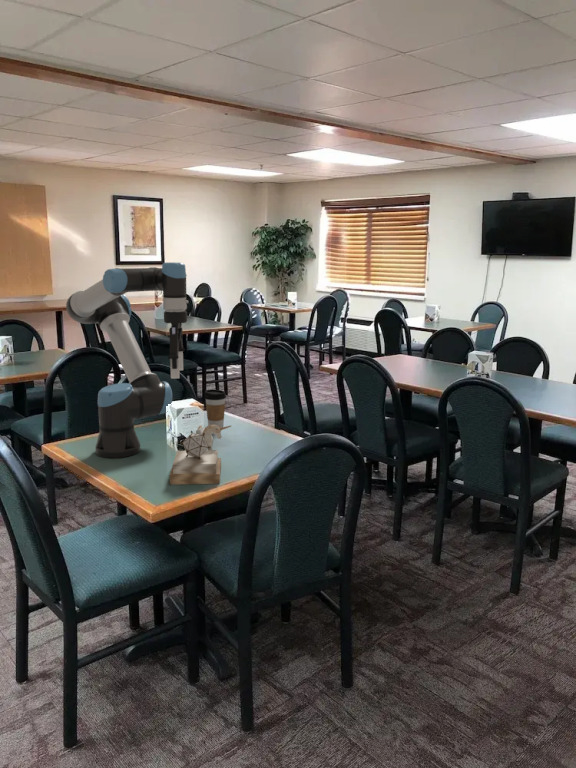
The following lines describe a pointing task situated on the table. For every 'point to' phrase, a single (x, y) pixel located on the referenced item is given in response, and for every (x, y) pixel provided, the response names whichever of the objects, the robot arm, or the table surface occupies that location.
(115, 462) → the table surface
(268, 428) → the table surface
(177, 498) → the table surface
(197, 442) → the game die
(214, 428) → the unicorn figurine
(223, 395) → the coffee cup
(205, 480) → the tower base
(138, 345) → the robot arm
